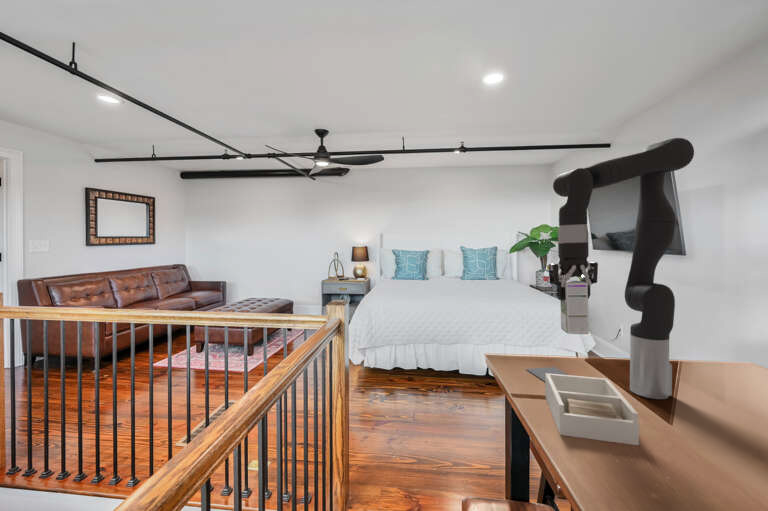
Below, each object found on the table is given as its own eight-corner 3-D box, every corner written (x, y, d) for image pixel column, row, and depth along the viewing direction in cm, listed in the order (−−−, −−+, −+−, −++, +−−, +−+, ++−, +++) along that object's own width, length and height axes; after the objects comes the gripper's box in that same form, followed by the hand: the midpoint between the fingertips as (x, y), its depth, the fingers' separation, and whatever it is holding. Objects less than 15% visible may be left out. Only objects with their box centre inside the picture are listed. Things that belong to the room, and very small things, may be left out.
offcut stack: (563, 421, 87) (563, 398, 86) (617, 427, 83) (617, 403, 83) (567, 432, 82) (567, 407, 81) (625, 439, 78) (625, 414, 78)
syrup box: (589, 334, 94) (589, 282, 93) (566, 334, 95) (566, 282, 94) (581, 329, 99) (581, 280, 99) (559, 328, 100) (559, 280, 100)
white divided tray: (545, 396, 101) (545, 373, 100) (607, 402, 96) (607, 378, 96) (559, 434, 81) (559, 405, 80) (638, 445, 76) (639, 414, 76)
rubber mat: (554, 368, 123) (554, 366, 123) (575, 380, 112) (575, 378, 112) (526, 370, 122) (526, 368, 122) (545, 382, 111) (545, 381, 111)
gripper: (585, 240, 101) (586, 296, 102) (541, 242, 99) (542, 298, 99) (606, 240, 94) (606, 300, 94) (558, 241, 91) (559, 302, 92)
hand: (573, 299), depth 97 cm, fingers closed on syrup box, 7 cm apart
